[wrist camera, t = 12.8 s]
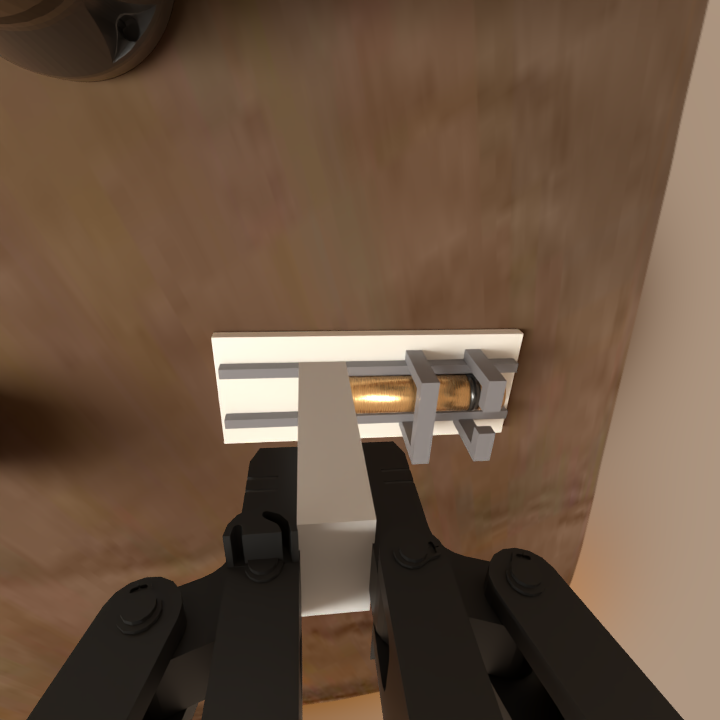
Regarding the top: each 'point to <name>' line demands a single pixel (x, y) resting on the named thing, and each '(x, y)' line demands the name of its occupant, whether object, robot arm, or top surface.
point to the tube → (413, 393)
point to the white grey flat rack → (366, 358)
